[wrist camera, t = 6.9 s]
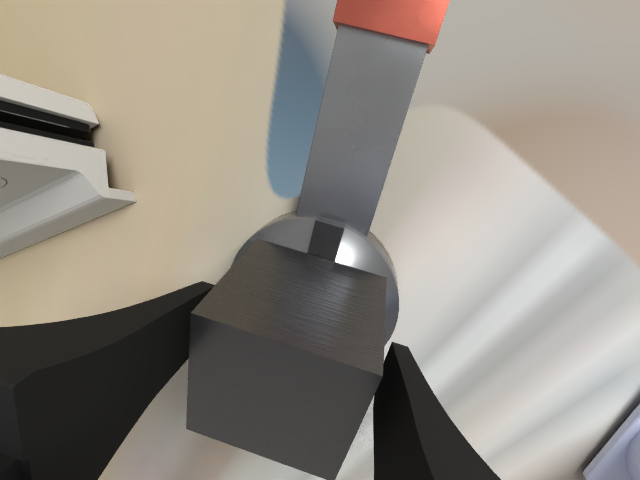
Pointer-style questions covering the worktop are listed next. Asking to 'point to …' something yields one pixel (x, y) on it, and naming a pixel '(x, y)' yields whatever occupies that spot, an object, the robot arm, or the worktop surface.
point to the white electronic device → (48, 166)
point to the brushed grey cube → (287, 357)
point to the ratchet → (359, 135)
